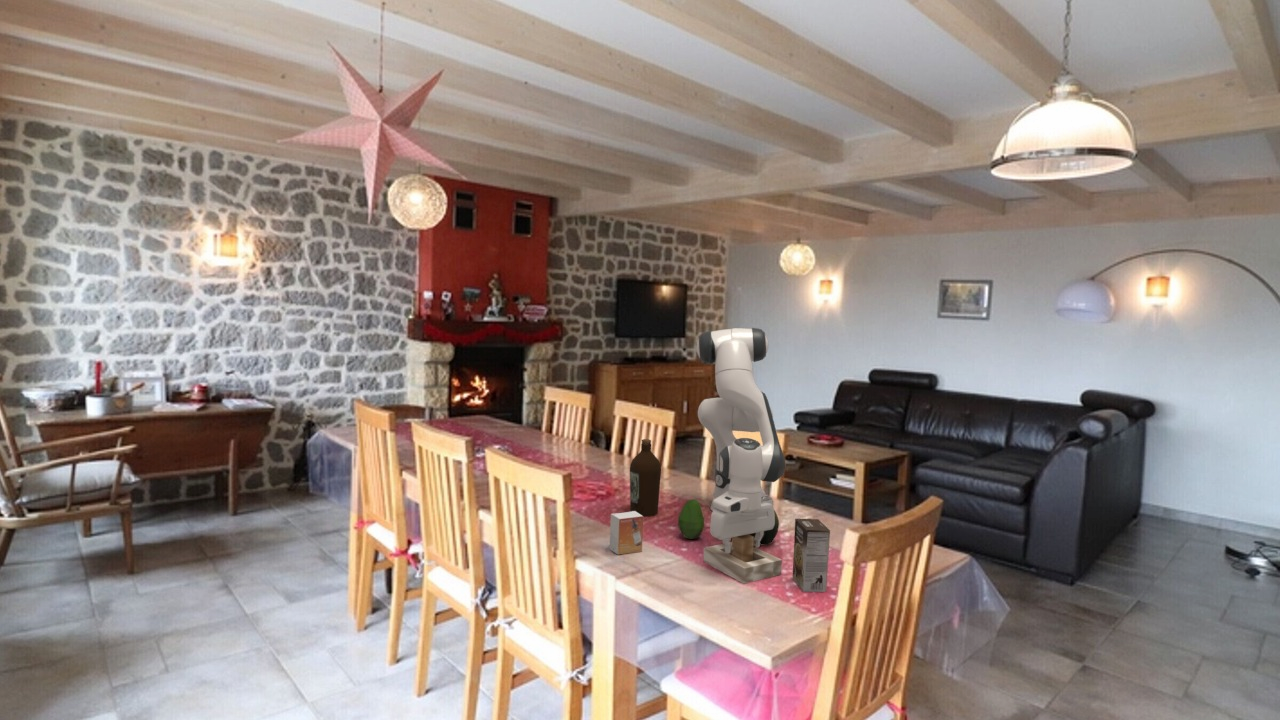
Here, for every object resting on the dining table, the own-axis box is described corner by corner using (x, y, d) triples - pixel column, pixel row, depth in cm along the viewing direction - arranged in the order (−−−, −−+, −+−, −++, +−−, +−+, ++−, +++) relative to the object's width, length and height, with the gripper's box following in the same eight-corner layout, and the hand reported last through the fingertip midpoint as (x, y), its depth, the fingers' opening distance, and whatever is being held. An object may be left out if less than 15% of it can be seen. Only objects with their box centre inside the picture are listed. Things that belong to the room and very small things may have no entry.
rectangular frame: (739, 553, 198) (740, 540, 198) (781, 574, 184) (782, 559, 183) (703, 561, 191) (703, 547, 191) (743, 583, 177) (744, 568, 176)
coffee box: (791, 577, 182) (794, 518, 180) (815, 577, 182) (818, 518, 181) (802, 592, 172) (805, 529, 171) (827, 592, 173) (830, 529, 172)
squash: (772, 537, 197) (778, 490, 205) (720, 531, 202) (728, 486, 211) (777, 557, 207) (783, 511, 216) (728, 551, 212) (736, 507, 221)
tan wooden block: (738, 562, 191) (740, 530, 191) (755, 571, 185) (757, 538, 185) (727, 565, 189) (729, 533, 188) (744, 573, 183) (746, 540, 183)
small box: (617, 555, 194) (618, 519, 193) (609, 549, 199) (610, 513, 198) (642, 551, 197) (643, 515, 196) (633, 545, 202) (635, 510, 201)
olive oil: (652, 506, 241) (654, 436, 239) (664, 515, 231) (667, 442, 229) (623, 509, 237) (625, 437, 235) (635, 518, 227) (637, 443, 225)
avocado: (705, 535, 213) (707, 497, 212) (701, 543, 205) (702, 504, 204) (680, 532, 215) (681, 494, 214) (674, 540, 208) (676, 501, 207)
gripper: (765, 492, 194) (763, 540, 195) (707, 501, 183) (705, 552, 184) (781, 497, 189) (778, 547, 190) (722, 507, 178) (720, 559, 179)
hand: (742, 549), depth 187 cm, fingers open, 8 cm apart
